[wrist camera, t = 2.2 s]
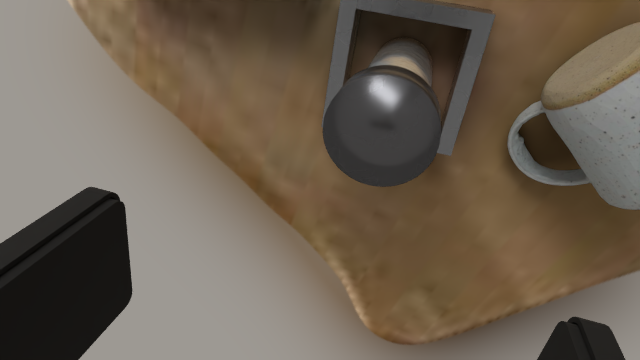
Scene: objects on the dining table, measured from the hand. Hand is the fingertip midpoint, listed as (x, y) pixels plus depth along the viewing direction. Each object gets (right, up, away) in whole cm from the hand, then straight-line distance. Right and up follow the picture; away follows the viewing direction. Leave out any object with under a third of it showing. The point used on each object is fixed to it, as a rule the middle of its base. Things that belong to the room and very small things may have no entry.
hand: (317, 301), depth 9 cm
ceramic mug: (+18, +7, +19) cm, 27 cm away
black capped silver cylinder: (+6, +10, +20) cm, 24 cm away
